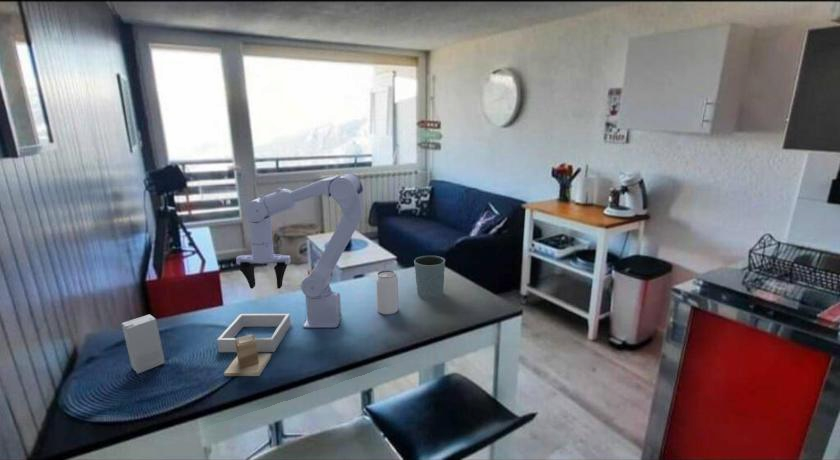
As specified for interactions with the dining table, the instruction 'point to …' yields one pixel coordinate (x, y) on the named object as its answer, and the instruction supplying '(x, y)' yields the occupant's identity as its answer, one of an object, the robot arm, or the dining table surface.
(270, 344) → the white square frame
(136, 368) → the skincare box
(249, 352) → the oak block
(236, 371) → the birch pad
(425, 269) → the grey-green cup
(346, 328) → the dining table surface
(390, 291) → the can
